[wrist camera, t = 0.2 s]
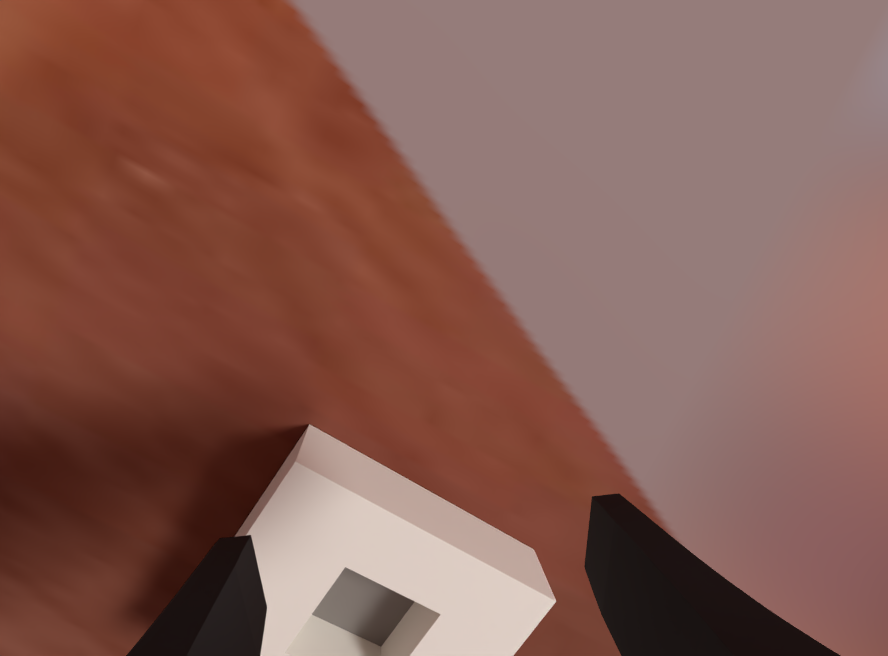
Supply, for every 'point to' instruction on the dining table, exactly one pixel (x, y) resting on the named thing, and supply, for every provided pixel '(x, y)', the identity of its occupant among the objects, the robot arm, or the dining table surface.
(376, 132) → the dining table surface
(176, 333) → the dining table surface
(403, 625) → the bore block
